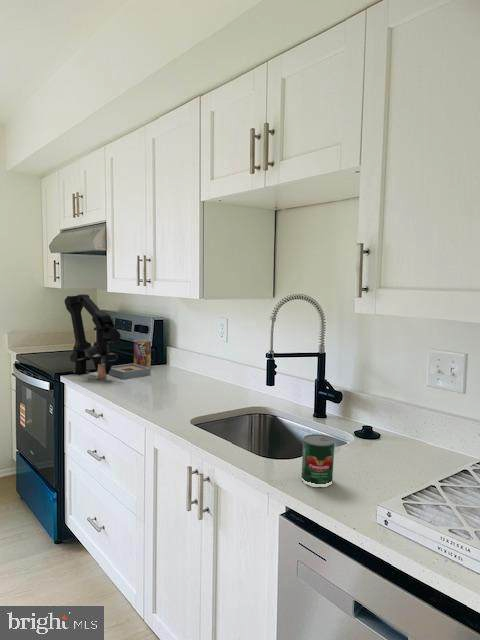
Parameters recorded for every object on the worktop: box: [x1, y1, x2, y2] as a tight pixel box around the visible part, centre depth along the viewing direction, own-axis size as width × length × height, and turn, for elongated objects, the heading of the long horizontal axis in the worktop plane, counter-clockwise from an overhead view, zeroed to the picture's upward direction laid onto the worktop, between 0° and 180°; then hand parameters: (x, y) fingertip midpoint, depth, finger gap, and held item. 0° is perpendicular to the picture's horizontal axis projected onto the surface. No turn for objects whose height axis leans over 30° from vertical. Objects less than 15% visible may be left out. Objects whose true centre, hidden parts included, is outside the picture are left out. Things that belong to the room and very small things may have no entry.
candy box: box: [133, 339, 152, 368], centre depth 256 cm, size 9×4×15 cm, turn 99°
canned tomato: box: [301, 433, 336, 484], centre depth 120 cm, size 8×8×11 cm
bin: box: [107, 363, 152, 380], centre depth 239 cm, size 16×16×4 cm
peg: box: [97, 363, 107, 381], centre depth 227 cm, size 4×4×7 cm
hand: (102, 372), depth 227 cm, fingers open, 9 cm apart
